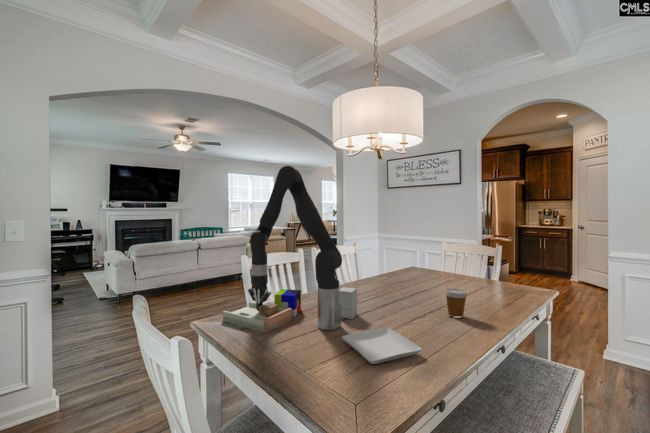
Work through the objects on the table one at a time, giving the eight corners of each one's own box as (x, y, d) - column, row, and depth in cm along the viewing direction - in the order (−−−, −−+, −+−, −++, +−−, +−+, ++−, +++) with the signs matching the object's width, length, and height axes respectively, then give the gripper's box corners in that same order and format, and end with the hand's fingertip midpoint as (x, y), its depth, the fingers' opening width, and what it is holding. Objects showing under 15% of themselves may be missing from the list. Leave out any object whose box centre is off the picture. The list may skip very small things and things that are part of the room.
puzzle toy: (294, 316, 144) (294, 295, 144) (274, 315, 146) (274, 294, 146) (300, 309, 154) (300, 290, 153) (281, 308, 156) (281, 289, 155)
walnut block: (277, 313, 141) (277, 304, 141) (269, 317, 136) (269, 308, 135) (267, 311, 144) (267, 303, 144) (258, 315, 138) (258, 306, 138)
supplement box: (357, 314, 147) (357, 288, 147) (352, 319, 140) (352, 292, 140) (343, 312, 150) (343, 286, 150) (337, 317, 143) (337, 290, 143)
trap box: (291, 320, 139) (291, 308, 139) (266, 333, 125) (266, 320, 125) (250, 310, 153) (250, 299, 153) (222, 321, 138) (222, 309, 138)
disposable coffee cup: (469, 316, 145) (469, 290, 144) (462, 321, 138) (462, 295, 137) (449, 311, 151) (449, 287, 151) (441, 316, 144) (441, 291, 144)
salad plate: (370, 371, 96) (370, 360, 96) (340, 344, 116) (340, 335, 116) (423, 358, 105) (423, 348, 105) (387, 334, 124) (387, 326, 124)
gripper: (275, 273, 142) (275, 310, 142) (254, 270, 148) (254, 305, 149) (264, 276, 135) (264, 315, 136) (243, 273, 142) (243, 310, 143)
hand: (259, 310), depth 142 cm, fingers closed
